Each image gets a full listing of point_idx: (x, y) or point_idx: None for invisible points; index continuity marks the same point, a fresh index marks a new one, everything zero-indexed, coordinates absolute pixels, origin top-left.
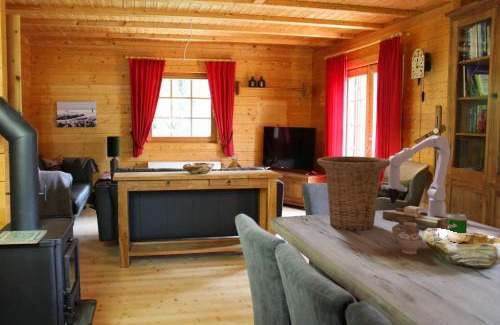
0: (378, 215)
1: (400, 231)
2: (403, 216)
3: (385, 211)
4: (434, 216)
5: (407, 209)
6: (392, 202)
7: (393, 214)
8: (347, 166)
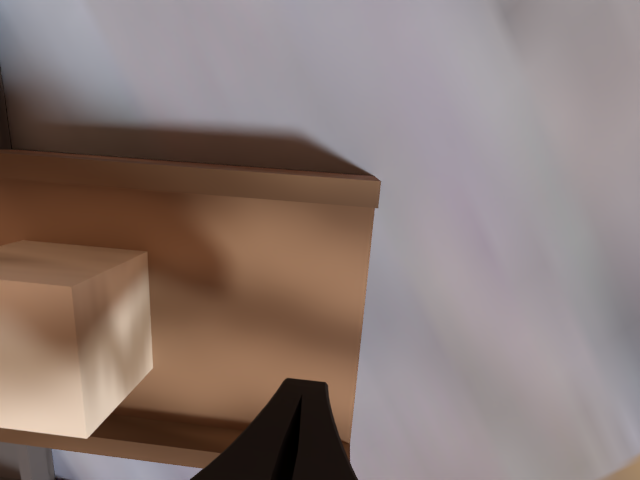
0: (483, 299)
1: None
2: (86, 158)
3: (347, 197)
4: (21, 477)
5: (35, 272)
6: (297, 385)
7: (219, 167)
8: None
